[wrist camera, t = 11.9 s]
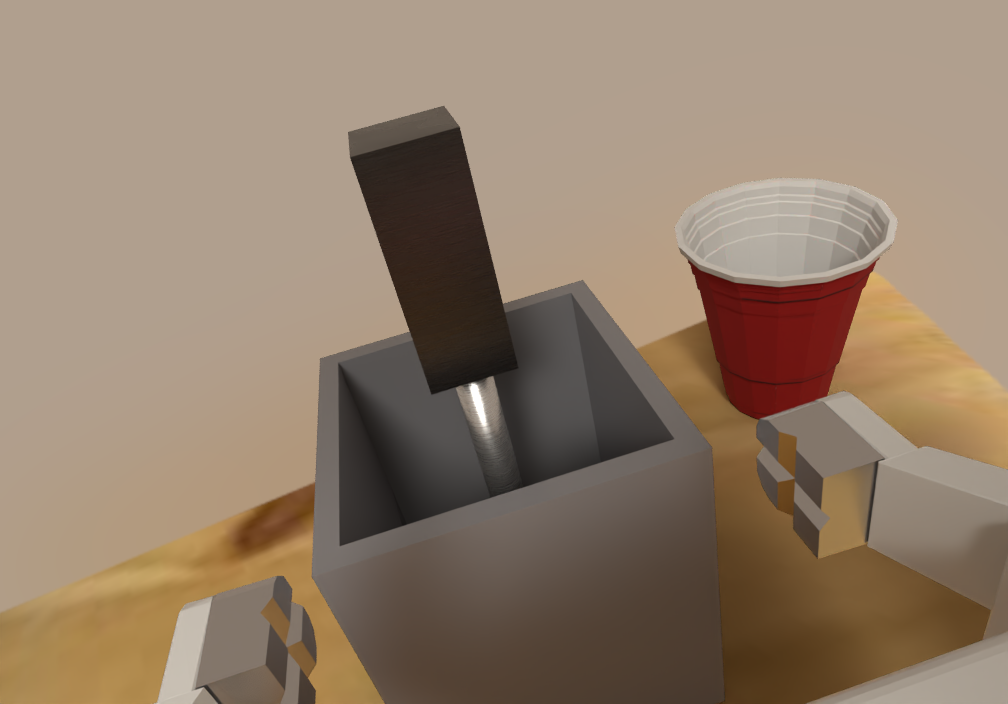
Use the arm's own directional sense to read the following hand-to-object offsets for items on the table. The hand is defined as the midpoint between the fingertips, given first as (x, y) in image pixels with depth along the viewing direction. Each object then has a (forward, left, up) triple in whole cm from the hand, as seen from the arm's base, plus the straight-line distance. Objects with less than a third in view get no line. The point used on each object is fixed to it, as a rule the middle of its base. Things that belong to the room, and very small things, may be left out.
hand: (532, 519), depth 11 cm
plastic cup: (+18, +22, -20) cm, 34 cm away
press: (0, +12, -20) cm, 23 cm away
